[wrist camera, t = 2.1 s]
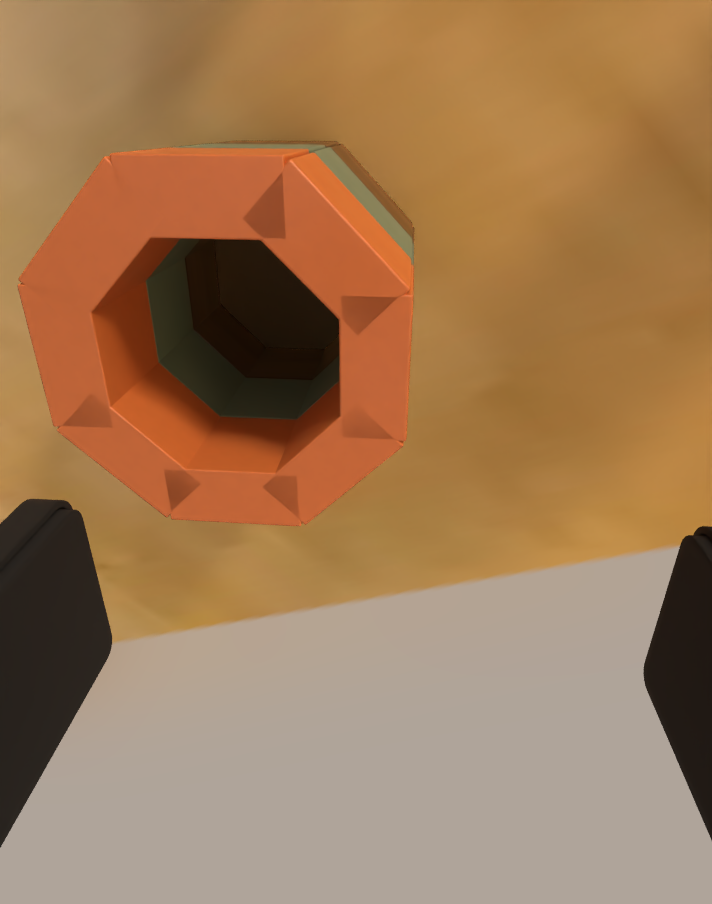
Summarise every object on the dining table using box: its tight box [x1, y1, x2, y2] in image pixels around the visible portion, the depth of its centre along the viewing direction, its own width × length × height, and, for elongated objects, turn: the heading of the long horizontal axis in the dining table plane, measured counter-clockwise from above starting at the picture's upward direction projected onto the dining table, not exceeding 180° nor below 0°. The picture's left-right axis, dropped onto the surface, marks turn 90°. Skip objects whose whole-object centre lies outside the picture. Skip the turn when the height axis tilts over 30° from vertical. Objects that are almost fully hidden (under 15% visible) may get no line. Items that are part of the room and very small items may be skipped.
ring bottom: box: [185, 141, 414, 380], centre depth 26 cm, size 11×11×4 cm
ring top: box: [18, 148, 414, 526], centre depth 19 cm, size 11×11×4 cm
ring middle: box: [146, 144, 414, 420], centre depth 23 cm, size 11×11×4 cm
